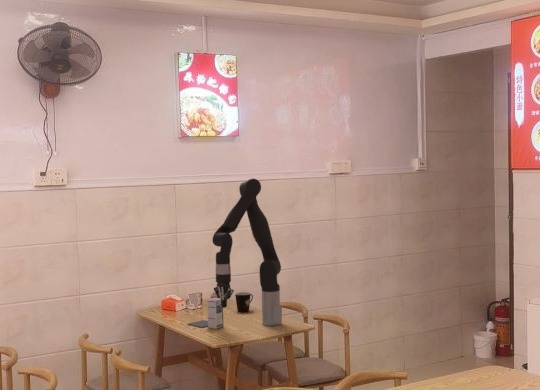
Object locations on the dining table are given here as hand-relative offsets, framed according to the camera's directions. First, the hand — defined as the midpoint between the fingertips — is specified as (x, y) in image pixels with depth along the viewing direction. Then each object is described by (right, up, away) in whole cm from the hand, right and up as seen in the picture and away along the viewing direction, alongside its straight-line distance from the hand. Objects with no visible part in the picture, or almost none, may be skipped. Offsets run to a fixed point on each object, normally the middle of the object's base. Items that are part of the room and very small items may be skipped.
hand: (224, 307), depth 349 cm
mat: (-12, -11, +12) cm, 20 cm away
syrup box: (-5, -11, +5) cm, 13 cm away
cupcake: (-8, -9, +60) cm, 62 cm away
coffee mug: (+9, -9, +43) cm, 46 cm away
